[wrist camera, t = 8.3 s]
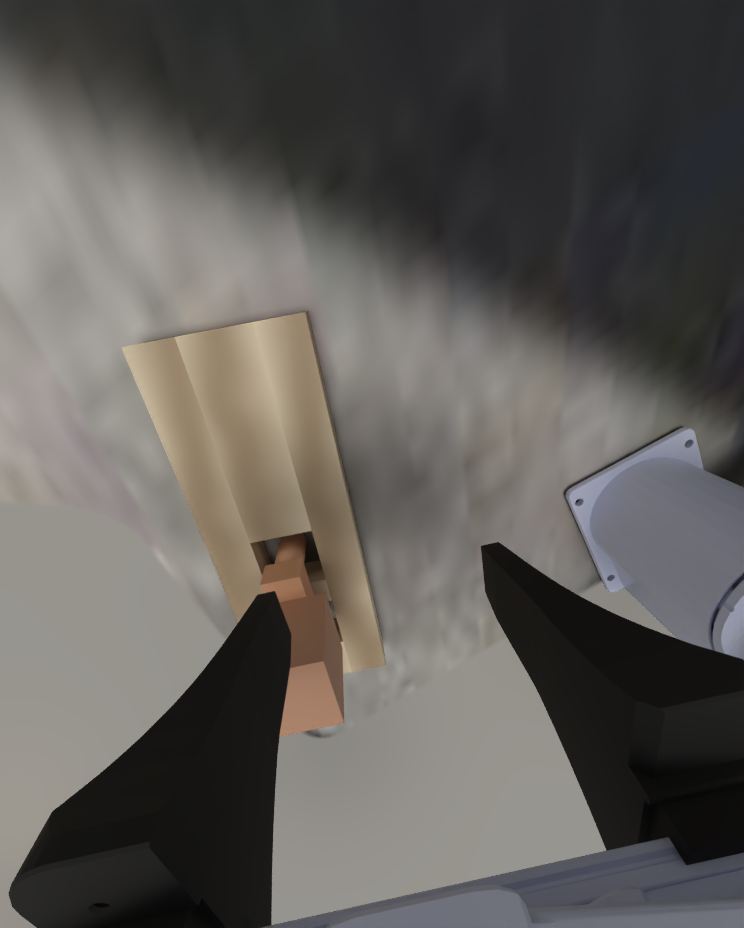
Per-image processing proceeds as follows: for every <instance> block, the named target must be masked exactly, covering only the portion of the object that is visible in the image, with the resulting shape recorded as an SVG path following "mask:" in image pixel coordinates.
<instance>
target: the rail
mask: <svg viewBox="0 0 744 928" xmlns="http://www.w3.org/2000/svg"><path fill="white" fill-rule="evenodd" d="M121 348H122V350H123V352H124V355H125V357H126V359H127V362H128V364H129V366H130V369H131V371H132V373H133V376H134V378H135V381H136V383H137V385H138V388H139V390H140V392H141V395H142V397H143V399H144V402H145V404H146V406H147V409H148V411H149V413H150V416H151V418H152V421H153V423H154V425H155V428H156V430H157V432H158V435H159V437H160V439H161V442H162V444H163V446H164V449H165V451H166V454H167V456H168V458H169V461H170V463H171V465H172V468H173V470H174V472H175V475H176V477H177V479H178V482H179V484H180V486H181V489H182V491H183V494H184V496H185V498H186V501H187V503H188V505H189V508H190V510H191V512H192V515H193V517H194V519H195V522H196V524H197V527H198V529H199V531H200V534H201V536H202V538H203V541H204V543H205V545H206V548H207V550H208V552H209V555H210V557H211V559H212V562H213V564H214V567H215V569H216V571H217V574H218V576H219V578H220V581H221V583H222V585H223V588H224V590H225V592H226V595H227V597H228V599H229V602H230V604H231V607H232V609H233V611H234V614H235V616H236V618H237V621H238V622H239V621H240V619H241V618H242V616H243V615H244V613H245V612H246V611H247V609H248V608H249V606H250V605H251V603H252V602H253V600H254V599H255V597H256V596H257V595H258V594H263V592H262V589H261V587H260V583H261V579H262V575H263V572H264V568H265V566H266V565H271V562H270V559H269V557H268V554H267V551H266V548H265V545H264V542H263V541H264V540H269V539H274V538H279V537H284V536H289V535H293V534H298V533H303V532H308V531H312V533H313V537H314V540H315V544H316V547H317V551H318V554H319V558H320V560H316V561H312V562H307V563H304V565H305V568H306V571H307V575H308V578H309V581H310V584H311V587H312V590H313V594H314V595H318V594H322V593H326V595H327V599H328V601H332V604H333V607H334V611H335V614H336V618H337V619H334V622H335V625H336V629H337V632H338V635H339V639H340V642H341V645H342V649H343V674H345V673H350V672H354V671H359V670H364V669H369V668H374V667H378V666H383V665H386V661H385V654H384V647H383V641H382V636H381V632H380V627H379V623H378V618H377V614H376V610H375V605H374V601H373V596H372V592H371V587H370V583H369V579H368V574H367V570H366V565H365V561H364V557H363V552H362V548H361V543H360V539H359V534H358V530H357V526H356V521H355V517H354V512H353V508H352V504H351V499H350V495H349V490H348V486H347V481H346V477H345V473H344V468H343V464H342V459H341V455H340V451H339V446H338V442H337V437H336V433H335V428H334V424H333V420H332V415H331V411H330V406H329V402H328V398H327V393H326V389H325V384H324V380H323V375H322V371H321V367H320V362H319V358H318V353H317V349H316V345H315V340H314V336H313V331H312V327H311V322H310V318H309V314H308V311H307V312H302V313H297V314H292V315H286V316H281V317H276V318H271V319H266V320H260V321H255V322H250V323H245V324H240V325H234V326H229V327H224V328H219V329H214V330H208V331H203V332H198V333H193V334H188V335H182V336H177V337H172V338H167V339H162V340H156V341H151V342H146V343H141V344H136V345H130V346H125V347H121Z"/></svg>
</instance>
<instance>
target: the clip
mask: <svg viewBox="0 0 744 928" xmlns="http://www.w3.org/2000/svg"><path fill="white" fill-rule="evenodd" d="M306 544H307V540H306V537H305V536H304V535H303V534H302V533H298V534H293V535H289V536H284V537H281V539H280V543H279V547H278V551H277V555H276V560H275V564H271V565H266V566H265V568H264V572H263V575H262V579H261V583H260V587H261V589H262V592H263V593H267V592H272V591H275V592H276V595H277V598H278V600H279V603H280V606H281V608H282V611H283V613H284V616H285V619H286V621H287V624H288V626H289V629H290V632H291V634H292V636H291V665H290V672H289V679H288V685H287V692H286V698H285V704H284V710H283V717H282V723H281V729H280V736H284V735H289V734H293V733H298V732H303V731H308V730H313V729H317V728H322V727H327V726H331V725H336V724H341V723H344V697H343V649H342V645H341V642H340V639H339V635H338V632H337V629H336V625H335V622H334V619H333V615H332V612H331V609H330V605H329V602H328V599H327V595H326V593H322V594H318V595H314V594H313V590H312V587H311V584H310V581H309V578H308V575H307V571H306V568H305V565H304V561H305V552H306ZM280 736H279V737H280Z"/></svg>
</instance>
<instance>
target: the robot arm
mask: <svg viewBox="0 0 744 928" xmlns="http://www.w3.org/2000/svg"><path fill="white" fill-rule="evenodd" d="M686 441H687V443H686ZM685 443H686V444H685ZM566 499H567V501H568V503H569V506H570V508H571V510H572V513H573V515H574V517H575V519H576V522H577V524H578V526H579V529H580V531H581V533H582V536H583V538H584V540H585V542H586V545H587V547H588V549H589V552H590V554H591V556H592V559H593V561H594V563H595V565H596V568H597V570H598V572H599V575H600V577H601V579H602V582H603V584H604V586H605V588H606V589H607V590H608V591H609V592H611V593H614V592H617V591H619V590H621V589H623V588H625V589H626V590H627V591H628V592H630V593H631V594H632V595H633V596H634V597H635V598H636V599H637V600H638V601H639V602H640V603H641V604H642V605H643V606H644V607H645V608H646V609H647V610H648V611H649V612H650V613H651V614H652V615H653V616H654V617H656V619H657V620H658V621H659V622H660V623H662V624H663V625H664V626H665V627H666V628H667V629H668V630H669V631H670V632H671V633H672V634H673V635H674V636H675V637H676V638H677V639H676V638H673V637H670V636H667V635H665V634H662V633H660V632H657V631H654V630H652V629H649V628H646V627H644V626H642V625H639V624H637V623H635V622H632V621H630V620H627V619H625V618H623V617H620V616H618V615H616V614H614V613H611V612H610V611H607V610H605V609H603V608H601V607H599V606H598V605H595V604H593V603H592V602H590V601H588V600H586V599H584V598H582V597H580V596H578V595H577V594H575V593H573V592H571V591H570V590H568V589H566V588H565V587H563V586H561V585H560V584H558V583H556V582H555V581H553V580H552V579H550V578H549V577H547V576H546V575H544V574H543V573H541V572H540V571H538V570H537V569H535V568H534V567H532V566H531V565H529V564H528V563H527V562H525V561H524V560H522V559H521V558H520V557H518V556H517V555H516V554H514V553H513V552H511V551H510V550H509V549H507V548H506V547H505V546H503V545H502V544H500V543H499V542H497V543H492V544H488V545H483V546H481V551H482V561H483V572H484V582H485V592H486V594H487V597H488V599H489V602H490V604H491V606H492V609H493V611H494V613H495V616H496V618H497V620H498V622H499V624H500V625H501V627H502V629H503V631H504V633H505V634H506V636H507V638H508V640H509V641H510V643H511V645H512V647H513V648H514V650H515V652H516V653H517V655H518V657H519V659H520V660H521V662H522V664H523V665H524V667H525V669H526V671H527V673H528V674H529V676H530V678H531V680H532V681H533V683H534V685H535V687H536V689H537V691H538V693H539V695H540V697H541V699H542V701H543V703H544V706H545V707H546V710H547V712H548V714H549V717H550V719H551V721H552V723H553V725H554V727H555V730H556V732H557V734H558V736H559V739H560V741H561V743H562V745H563V748H564V750H565V752H566V754H567V757H568V759H569V761H570V764H571V766H572V768H573V771H574V773H575V775H576V778H577V780H578V782H579V785H580V787H581V789H582V792H583V794H584V796H585V799H586V801H587V804H588V806H589V808H590V811H591V813H592V816H593V818H594V821H595V823H596V826H597V828H598V830H599V833H600V835H601V838H602V840H603V842H604V845H605V848H606V850H607V851H604V852H599V853H594V854H590V855H586V856H581V857H577V858H572V859H567V860H563V861H558V862H555V863H549V864H545V865H541V866H536V867H532V868H527V869H522V870H518V871H514V872H509V873H505V874H500V875H496V876H491V877H487V878H482V879H478V880H473V881H469V882H464V883H460V884H455V885H451V886H446V887H442V888H437V889H433V890H428V891H424V892H419V893H415V894H411V895H406V896H401V897H397V898H392V899H388V900H383V901H379V902H375V903H370V904H365V905H361V906H356V907H352V908H348V909H343V910H338V911H334V912H330V913H325V914H321V915H316V916H311V917H307V918H302V919H298V920H294V921H289V922H284V923H280V924H275V925H271V900H272V851H273V849H272V848H273V822H274V821H273V820H274V801H275V783H276V768H277V753H278V744H279V736H280V729H281V723H282V717H283V710H284V704H285V698H286V692H287V685H288V679H289V672H290V665H291V636H292V634H291V632H290V629H289V626H288V624H287V621H286V619H285V616H284V613H283V611H282V608H281V606H280V603H279V600H278V598H277V595H276V592H275V591H272V592H267V593H263V594H258V595H257V596H256V597H255V599H254V600H253V602H252V603H251V605H250V606H249V608H248V609H247V611H246V612H245V613H244V615H243V616H242V618H241V619H240V621H239V622H238V624H237V625H236V627H235V628H234V630H233V631H232V632H231V634H230V635H229V637H228V638H227V640H226V641H225V642H224V644H223V645H222V647H221V648H220V649H219V651H218V652H217V653H216V655H215V656H214V657H213V659H212V660H211V661H210V662H209V664H208V665H207V666H206V668H205V669H204V670H203V671H202V673H201V674H200V675H199V676H198V678H197V679H196V680H195V681H194V682H193V683H192V685H191V686H190V687H189V688H188V689H187V690H186V691H185V693H184V694H183V695H182V696H181V697H180V698H179V699H178V700H177V702H176V703H175V704H174V705H173V706H172V707H171V708H170V709H169V710H168V711H167V712H166V713H165V714H164V715H163V716H162V717H161V718H160V719H159V720H158V721H157V722H156V723H155V724H154V725H153V726H152V727H151V728H150V729H149V730H148V731H147V732H146V733H145V734H144V735H143V736H142V737H141V738H140V739H139V740H138V741H137V742H135V743H134V744H133V745H132V746H131V747H130V748H129V749H128V750H127V751H126V752H124V753H123V754H122V755H121V756H120V757H119V758H118V759H117V760H115V761H114V762H113V763H112V764H111V765H110V766H109V767H107V768H106V769H105V770H104V771H103V772H101V773H100V774H99V775H98V776H97V777H95V778H94V779H93V780H92V781H90V782H89V783H88V784H87V785H85V786H84V787H83V788H82V789H80V790H79V791H78V792H77V793H75V794H74V795H73V796H72V797H70V798H69V799H68V800H67V801H65V803H63V804H62V805H60V806H59V807H58V808H56V809H55V810H54V811H53V812H52V813H51V815H50V817H49V819H48V820H47V822H46V824H45V825H44V827H43V829H42V831H41V832H40V834H39V836H38V838H37V840H36V841H35V843H34V845H33V847H32V849H31V850H30V852H29V854H28V856H27V858H26V859H25V861H24V863H23V864H22V866H21V868H20V870H19V872H18V873H17V875H16V877H15V879H14V881H13V882H12V884H11V887H10V891H9V897H10V900H11V904H12V907H13V908H14V909H15V910H16V911H17V912H18V913H19V914H20V915H21V916H22V917H24V918H25V919H26V920H28V921H29V922H30V923H32V924H33V925H34V926H36V927H37V928H744V487H741V486H739V485H737V484H735V483H732V482H730V481H728V480H726V479H723V478H721V477H719V476H716V475H714V474H712V473H710V472H707V471H705V470H704V468H703V464H702V460H701V456H700V451H699V447H698V443H697V439H696V435H695V432H694V430H693V429H691V428H688V427H683V428H680V429H678V430H676V431H675V432H673V433H671V434H669V435H667V436H665V437H664V438H662V439H660V440H658V441H656V442H654V443H652V444H651V445H649V446H647V447H645V448H643V449H641V450H640V451H638V452H636V453H634V454H632V455H630V456H628V457H627V458H625V459H623V460H621V461H619V462H617V463H616V464H614V465H612V466H610V467H608V468H606V469H604V470H603V471H601V472H599V473H597V474H595V475H593V476H592V477H590V478H588V479H586V480H584V481H582V482H580V483H579V484H577V485H575V486H573V487H571V488H570V489H569V490H568V491H567V492H566ZM578 499H580V500H579V501H578V502H577V503H575V502H576V500H578Z"/></svg>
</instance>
